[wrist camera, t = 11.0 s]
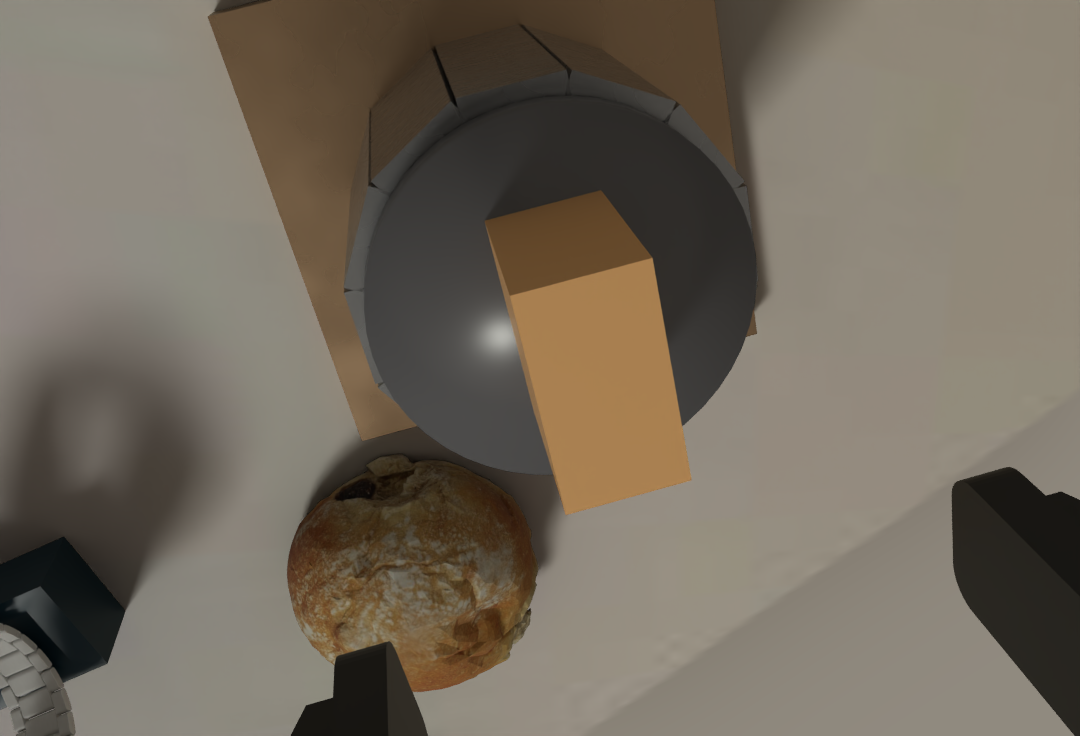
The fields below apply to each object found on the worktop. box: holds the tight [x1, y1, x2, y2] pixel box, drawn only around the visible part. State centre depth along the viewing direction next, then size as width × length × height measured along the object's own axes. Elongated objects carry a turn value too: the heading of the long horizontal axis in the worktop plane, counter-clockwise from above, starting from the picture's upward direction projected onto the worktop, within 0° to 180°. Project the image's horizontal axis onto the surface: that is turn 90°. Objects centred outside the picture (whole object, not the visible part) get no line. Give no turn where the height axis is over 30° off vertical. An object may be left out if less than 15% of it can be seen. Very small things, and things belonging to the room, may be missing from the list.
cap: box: [364, 96, 757, 515], centre depth 24 cm, size 10×10×8 cm
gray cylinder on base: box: [208, 0, 758, 441], centre depth 31 cm, size 16×16×10 cm
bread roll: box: [287, 454, 538, 692], centre depth 40 cm, size 10×10×8 cm
